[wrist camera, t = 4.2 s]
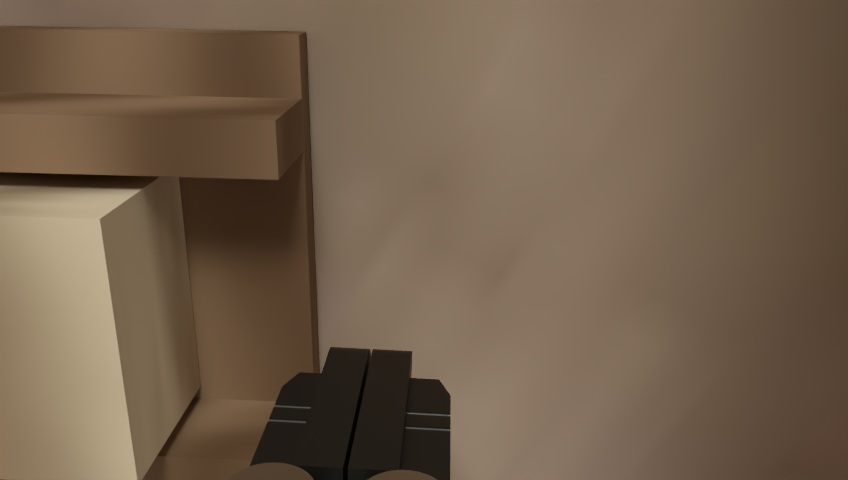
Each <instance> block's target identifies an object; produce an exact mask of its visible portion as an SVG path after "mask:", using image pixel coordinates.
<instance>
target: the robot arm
mask: <svg viewBox="0 0 848 480" xmlns="http://www.w3.org/2000/svg"><path fill="white" fill-rule="evenodd" d="M411 371H412V351H395V350H377V349H373V351H372V355H371V352H370V349H356V348H338V347H331V348H330V350H329V353H328V356H327V359H326V362H325V365H324V368H323V371H322V373H305V372H299V373H298V374H297V375H296V376H294V377H293V378H292V379H291V380H290V381H288V382H287V383H286V384H285V385H283V386H282V388H281V390H280V393H279V395H278V398H277V400H276V403H275V407H273V410H272V412H271V415H270V417H269V422H267V425H266V427H265V429H264V432H263V434H262V437H261V439H260V442H259V444H258V446H257V449H256V451H255V454H254V456H253V459H252V461H251V464H250V466H249V467H247V468H244V469H242V470H240V471H238V472H236V473H235V474H233V475H232V476H230V477H229V478H228V479H227V480H450V394H449V393H448V392H447V390H446V389H445V387H444V386H443V385H442V383H441V382H440V380H436V379H417V378H411Z"/></svg>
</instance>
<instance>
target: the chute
mask: <svg viewBox="0 0 848 480" xmlns="http://www.w3.org/2000/svg"><path fill="white" fill-rule="evenodd" d="M0 172H17V173H52V174H88V175H123V176H159V177H179V183H180V193H181V202H182V212H183V222H184V232H185V241H186V251H187V261H188V270H189V280H190V290H191V299H192V309H193V319H194V328H195V338H196V348H197V357H198V367H199V377H200V388H199V389H198V391H197V393H196V394H195V396H194V397H193V399H192V401H191V402H190V404H189V405H188V407H187V409H186V410H185V412H184V413H183V415H182V417H181V418H180V420H179V421H178V423H177V425H176V426H175V428H174V429H173V431H172V433H171V434H170V436H169V437H168V439H167V441H166V442H165V444H164V445H163V447H162V449H161V450H160V452H159V453H158V455H157V457H156V458H155V460H154V461H153V463H152V465H151V466H150V468H149V469H148V471H147V473H146V474H145V476H144V477H143V479H142V480H227V479H228V478H229V477H230V476H232V475H233V474H235V473H236V472H238V471H240V470H242V469H244V468H247V467H249V466H250V464H251V461H252V459H253V456H254V454H255V451H256V449H257V446H258V444H259V442H260V439H261V437H262V434H263V432H264V429H265V427H266V425H267V422H269V417H270V415H271V412H272V410H273V407H275V403H276V400H277V398H278V395H279V393H280V390H281V388H282V386H283V385H285V384H286V383H287V382H288V381H290V380H291V379H292V378H293V377H294V376H296V375H297V374H298V373H299V372H305V373H320V372H319V347H318V321H317V296H316V271H315V245H314V220H313V194H312V169H311V143H310V118H309V92H308V67H307V42H306V32H290V31H239V30H187V29H135V28H84V27H32V26H0ZM0 480H3V479H0Z"/></svg>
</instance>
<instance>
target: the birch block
mask: <svg viewBox="0 0 848 480" xmlns="http://www.w3.org/2000/svg"><path fill="white" fill-rule="evenodd" d="M199 388H200V377H199V367H198V357H197V348H196V338H195V328H194V319H193V309H192V299H191V290H190V280H189V270H188V261H187V251H186V241H185V232H184V222H183V212H182V202H181V193H180V183H179V177H159V176H123V175H88V174H52V173H17V172H0V479H3V480H142V479H143V477H144V476H145V474H146V473H147V471H148V469H149V468H150V466H151V465H152V463H153V461H154V460H155V458H156V457H157V455H158V453H159V452H160V450H161V449H162V447H163V445H164V444H165V442H166V441H167V439H168V437H169V436H170V434H171V433H172V431H173V429H174V428H175V426H176V425H177V423H178V421H179V420H180V418H181V417H182V415H183V413H184V412H185V410H186V409H187V407H188V405H189V404H190V402H191V401H192V399H193V397H194V396H195V394H196V393H197V391H198V389H199Z"/></svg>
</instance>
